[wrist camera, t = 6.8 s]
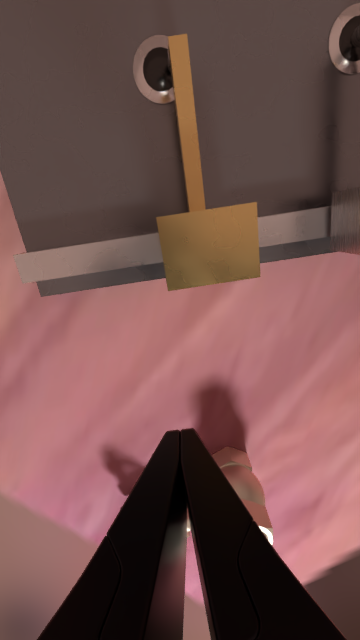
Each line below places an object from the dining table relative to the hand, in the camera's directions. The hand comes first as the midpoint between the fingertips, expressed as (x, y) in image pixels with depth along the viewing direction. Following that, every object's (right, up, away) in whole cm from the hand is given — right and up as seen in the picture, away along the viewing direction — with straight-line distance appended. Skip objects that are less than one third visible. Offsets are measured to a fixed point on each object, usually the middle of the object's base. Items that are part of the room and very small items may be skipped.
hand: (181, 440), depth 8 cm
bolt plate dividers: (+1, +14, +8) cm, 16 cm away
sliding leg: (0, +12, +7) cm, 14 cm away
